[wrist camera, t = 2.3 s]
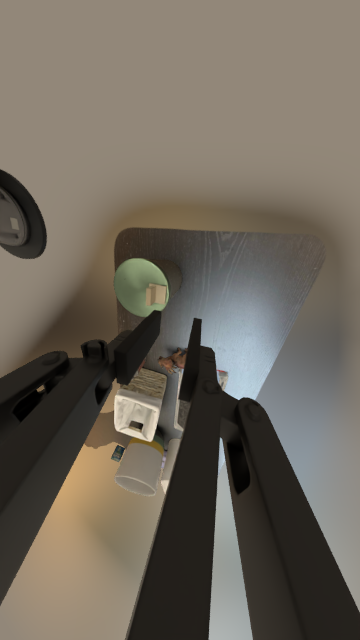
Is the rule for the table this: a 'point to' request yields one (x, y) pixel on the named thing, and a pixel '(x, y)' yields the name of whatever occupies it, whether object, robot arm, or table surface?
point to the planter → (141, 465)
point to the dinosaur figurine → (173, 361)
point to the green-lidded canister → (145, 283)
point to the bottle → (169, 462)
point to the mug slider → (155, 294)
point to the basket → (140, 404)
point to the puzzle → (118, 453)
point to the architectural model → (184, 406)
